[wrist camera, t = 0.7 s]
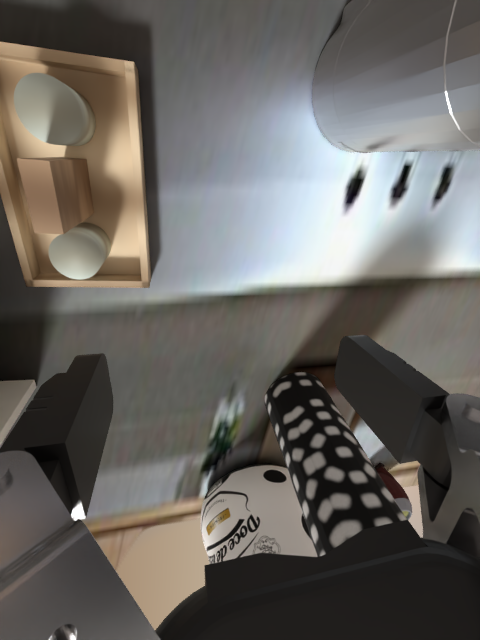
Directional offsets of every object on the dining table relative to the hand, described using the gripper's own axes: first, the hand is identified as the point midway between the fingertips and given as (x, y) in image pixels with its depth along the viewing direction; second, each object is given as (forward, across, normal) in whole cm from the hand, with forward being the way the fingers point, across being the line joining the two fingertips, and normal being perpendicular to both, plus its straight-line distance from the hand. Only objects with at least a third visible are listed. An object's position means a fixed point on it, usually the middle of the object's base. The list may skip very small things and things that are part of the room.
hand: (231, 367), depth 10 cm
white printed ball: (+24, -9, +40) cm, 48 cm away
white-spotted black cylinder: (+22, -13, +20) cm, 33 cm away
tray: (+20, +9, -6) cm, 23 cm away
